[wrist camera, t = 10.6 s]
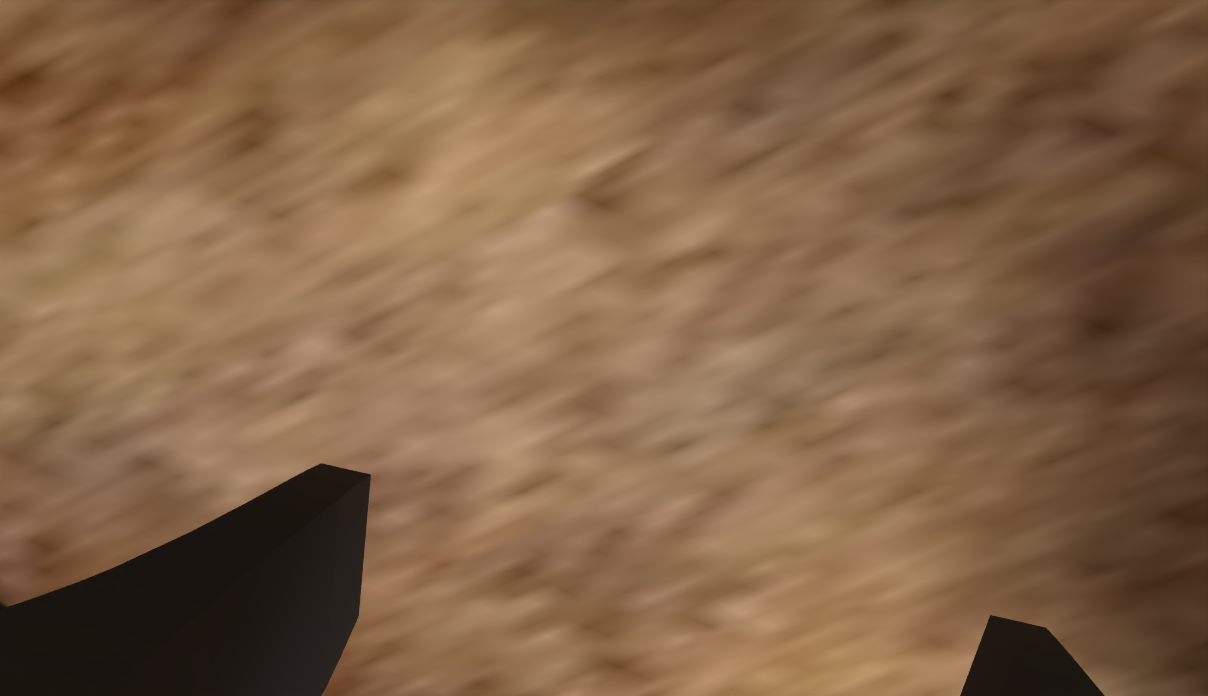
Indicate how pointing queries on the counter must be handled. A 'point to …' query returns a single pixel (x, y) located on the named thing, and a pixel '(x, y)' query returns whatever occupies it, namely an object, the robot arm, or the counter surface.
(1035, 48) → the counter surface
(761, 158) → the counter surface
